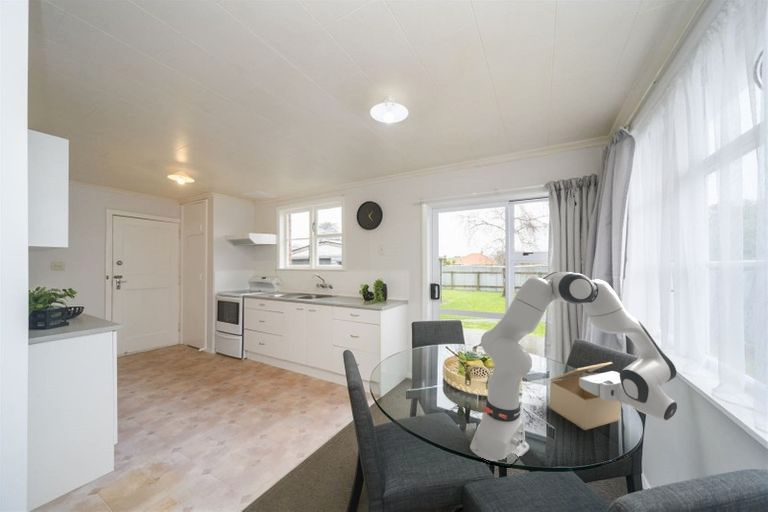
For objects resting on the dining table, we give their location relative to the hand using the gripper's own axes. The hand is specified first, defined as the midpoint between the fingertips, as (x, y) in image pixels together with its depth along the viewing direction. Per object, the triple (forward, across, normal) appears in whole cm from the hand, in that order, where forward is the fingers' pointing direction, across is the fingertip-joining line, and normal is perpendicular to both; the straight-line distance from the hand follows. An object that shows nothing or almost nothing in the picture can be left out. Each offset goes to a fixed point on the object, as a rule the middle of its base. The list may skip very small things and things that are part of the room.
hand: (584, 373), depth 124 cm
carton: (0, 0, +18) cm, 18 cm away
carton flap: (+2, 0, 0) cm, 2 cm away
